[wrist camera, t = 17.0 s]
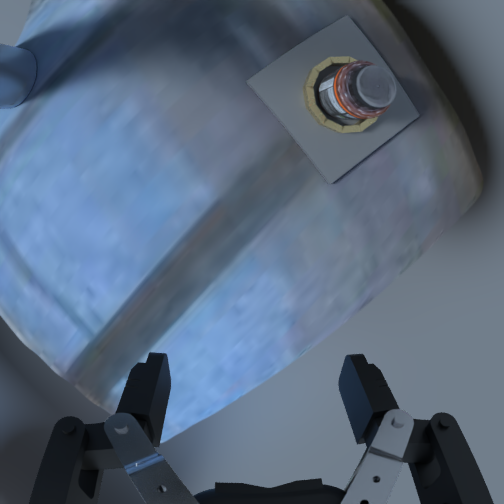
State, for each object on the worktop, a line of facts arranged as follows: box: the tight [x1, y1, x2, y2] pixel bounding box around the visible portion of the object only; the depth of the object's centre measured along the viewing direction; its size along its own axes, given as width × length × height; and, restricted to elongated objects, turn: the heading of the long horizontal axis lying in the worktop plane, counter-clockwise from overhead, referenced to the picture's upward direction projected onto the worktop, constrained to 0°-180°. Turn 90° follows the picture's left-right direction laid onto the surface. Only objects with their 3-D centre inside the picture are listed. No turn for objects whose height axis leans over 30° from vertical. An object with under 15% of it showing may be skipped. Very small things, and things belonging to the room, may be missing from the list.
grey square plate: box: [246, 15, 420, 185], centre depth 34 cm, size 16×16×1 cm
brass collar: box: [302, 56, 378, 133], centre depth 32 cm, size 9×9×2 cm
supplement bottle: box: [318, 60, 397, 120], centre depth 28 cm, size 6×6×11 cm
